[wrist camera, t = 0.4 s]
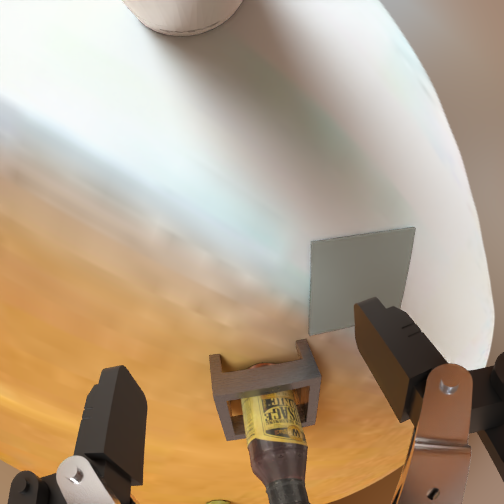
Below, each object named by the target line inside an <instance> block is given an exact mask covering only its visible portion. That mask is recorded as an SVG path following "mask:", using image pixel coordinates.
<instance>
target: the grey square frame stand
mask: <svg viewBox="0 0 504 504" xmlns="http://www.w3.org/2000/svg"><path fill="white" fill-rule="evenodd" d="M296 349H297V352H298V355H299V357H300V360H295V361H290V362H285V363H280V364H275V365H269V366H264V367H258V368H252V369H246V370H240V371H233V372H227V373H222V365H221V359H220V354H215V355H209V359H210V370H211V380H212V390H213V397H214V401H215V404H216V408H217V411H218V414H219V418H220V421H221V424H222V427H223V430H224V434H225V437H226V440H227V441H230V440H237V439H244V438H246V434H245V427H244V419H243V415H239V416H232V409H231V403H230V400H236V399H243V398H249V397H255V396H261V395H266V394H272V393H277V392H282V391H287V390H292V389H295V394H296V397H297V400H298V403H299V404H298V405H296V406H297V410H298V413H299V417H300V420H301V424H302V427H306V426H310V425H314V424H315V421H316V414H317V407H318V400H319V392H320V384H321V374H320V372H319V369H318V367H317V364H316V362H315V360H314V357H313V355H312V352H311V350H310V348H309V345H308V343H307V340H306V339H303V340H298V341H296Z"/></svg>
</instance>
